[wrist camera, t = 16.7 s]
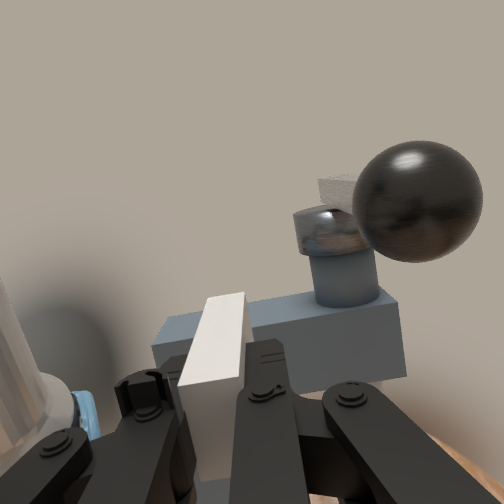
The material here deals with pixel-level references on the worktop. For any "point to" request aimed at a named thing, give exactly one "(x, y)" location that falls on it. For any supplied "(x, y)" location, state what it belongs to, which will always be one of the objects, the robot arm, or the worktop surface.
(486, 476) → the worktop surface
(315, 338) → the press frame
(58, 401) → the robot arm
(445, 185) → the lever
